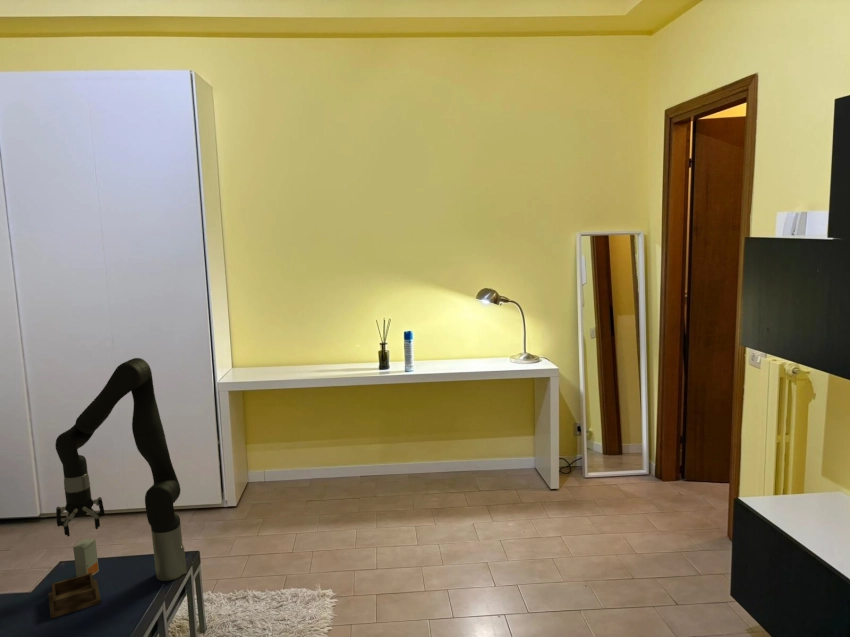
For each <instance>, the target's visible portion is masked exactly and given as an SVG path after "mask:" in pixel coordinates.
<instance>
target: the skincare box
mask: <svg viewBox="0 0 850 637" xmlns="http://www.w3.org/2000/svg"><path fill="white" fill-rule="evenodd" d="M97 549H98V548H97V541H96V539H95V538H84V539H82V540H81V541H79V542H78V543H77V544H75V545H74V546H73V547H72V550H73V556H74V558H73V559H74V565H75V572H76V573H75V574H76V577H78V576H81V575H85V574H88V573H92V577H93V576H94V575H96V574H97V573H99V571H100V569H99V560H98V559H99V558H98V550H97Z"/></svg>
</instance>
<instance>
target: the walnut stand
mask: <svg viewBox="0 0 850 637" xmlns="http://www.w3.org/2000/svg"><path fill="white" fill-rule="evenodd" d="M48 602H49V603H48V604H49V605H48V606H49V616H50V619H54V618H58V617H61V616H63V615H68V614H70V613H73V612H78V611H80V610H83V609H87V608H89V607H92V606H96V605H99V604H102V599H101V595H100V588H99V584H98V580H97V579H94V578H93V576H92V573H88V574H85V575H81V576H78V577H77V576H75V577H72V578H71V577H70V578H68V579H64V580H61V581H57V582H53V583H51V592H48Z"/></svg>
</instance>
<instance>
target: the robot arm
mask: <svg viewBox="0 0 850 637" xmlns="http://www.w3.org/2000/svg"><path fill="white" fill-rule="evenodd" d="M130 392H131V396H132V400H133V401H132V402H133V408H132V409H133V411H132V423H131V429H132V436H133V439H134V443H135V446H136V449H137V451H138V452H139V454H140V455H141V456H142V457H143V458H144V460H145V461H146V462H147V464H148V466H149V468H150V471H151V474H152V479H153V484H152V486H150V487H149V489H148V490H146V492H145V495H144V505H145V513H146V518H147V522H148V524H149V526H150V531H151V540H152V541H151V542H152V548H153V559H154V566H155V567H154V568H155V574H156V579H157V580H158V581H163V582H165V581H166V582H167V581H168V582H169V581H172V580H176V579H178V578H181V577H183V575H185V574H187V563H186V561H187V560H186V552H185V546H184V545H183V537H182V536H183V535H182V534H183V533H182V526H181V518H180V517H181V516H179V514H177V513H175V509H174V504H175V502H177V501H178V499H179V497H180V495H181V485H180V482H179V478H178V477H177V474H176V471H175V469H174V466H173V463H172V459H171V455H170V452H169V447H168V443H167V438H166V434H165V430H164V427H163V422H162V419H161V416H160V412H159V408H158V404H157V400H156V395H155V388H154V380H153V373H152V369H151V367H150V365H149V363H148V362H147V361H146V360H144V359H143V358H140V357H134V358H131V359H128V360H127V361H124V362H123V363H120V364H119V365H118V366H117V367H116V368H115V370H114V371H113V373H112V374H111V375H110V378H108V380H107V382H106V384H105V385H104V386H103V388H102V390H101V391H100V392H99V394H97V396H96V397H95V398H94V399H93V400H92V401H91V402H90V404H89V405H87V407H86V408H84V410H83V411H82V412H81V413H79V414H80V415H79V416H78V417H77V418H76V420H75V424H73V426H72V427H71V428H69V429H67V430H65V431H64V432H62V433H60V434H59V435H58V436H57V438H56V440H55V450H56V453H57V456H58V458H59V461H60V462H61V465H62V470H63V471H62V472H63V487H64V488H63V489H64V494H65V495H64V496H65V503H66V504H65V506H61V507H60V506H57V507H56V508H55V513H56V516H55V518H56V526H57V527H63V532H64V536H67V537H70V535H71V534H70V526H69V525H70V522H72V520H73V518H78V517H81V516H82V517H83V516H87V514H88V515H90V517H93V519H94V528H95V530H98V529H99V527H100V526H101V524H100V518H101V517H103V516H105V514H106V513H105V508H104V502H103V499H102V497H101V496H99V497H97V498H96V499H92V491H91V482H90V476H89V473H88V472H89V471H88V464H87V458H86V457H85V456H84V455H81V454H79V451H78V450H79V449H80V448H82V447H83V446H84V445H86V444H87V443H88V442H89V440H90V439H91V437H92V436H94V433H95V431H96V430H97V429H99V428H100V426H101V425H102V424H103V423H104V422H105V421H106V419H107V418H108V417H109V416H110V415H111V413H112V412H113V410H114V407H115V406H116V405H117V404H118V402H120V400H122V399H123V397H125V396H126V395H128V394H129V393H130ZM94 505H96V506H97V507H98V508H99V511H98V512H97V511H96V510H94V508H93V506H94ZM65 511H66V513H67V515H66V517H65V518H64V520H62V515H63V514H64V512H65Z"/></svg>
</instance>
